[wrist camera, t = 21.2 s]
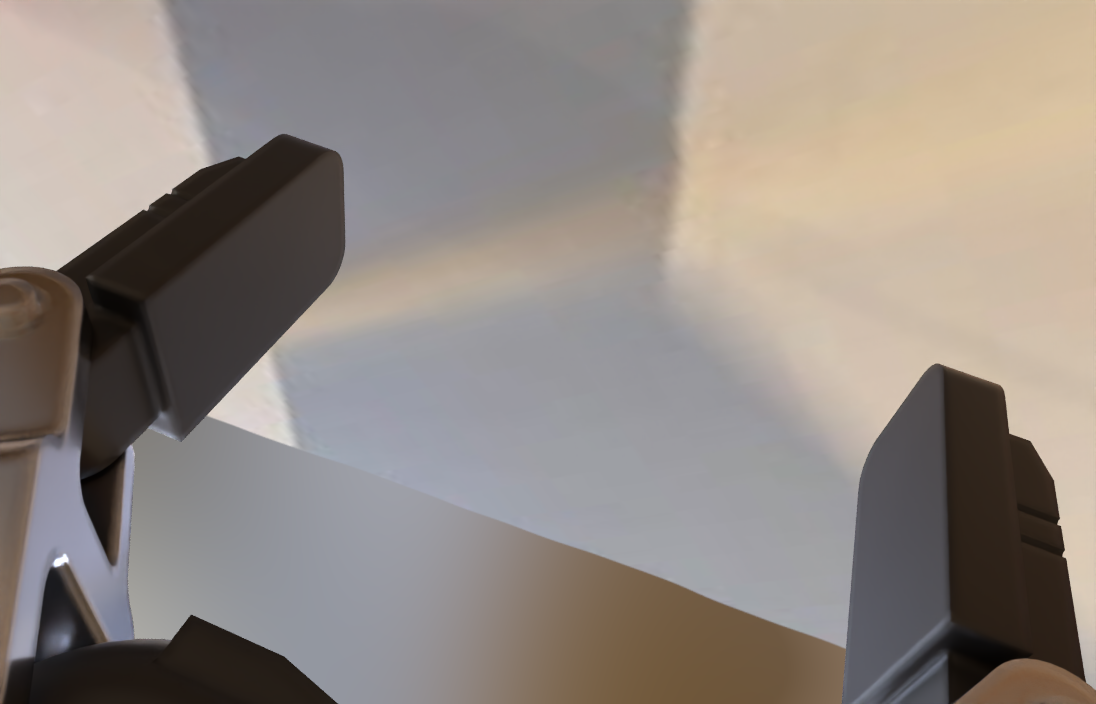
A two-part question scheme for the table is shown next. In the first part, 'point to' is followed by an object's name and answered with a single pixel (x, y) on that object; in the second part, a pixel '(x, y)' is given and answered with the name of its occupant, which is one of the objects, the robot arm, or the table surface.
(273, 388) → the table surface
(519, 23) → the table surface
